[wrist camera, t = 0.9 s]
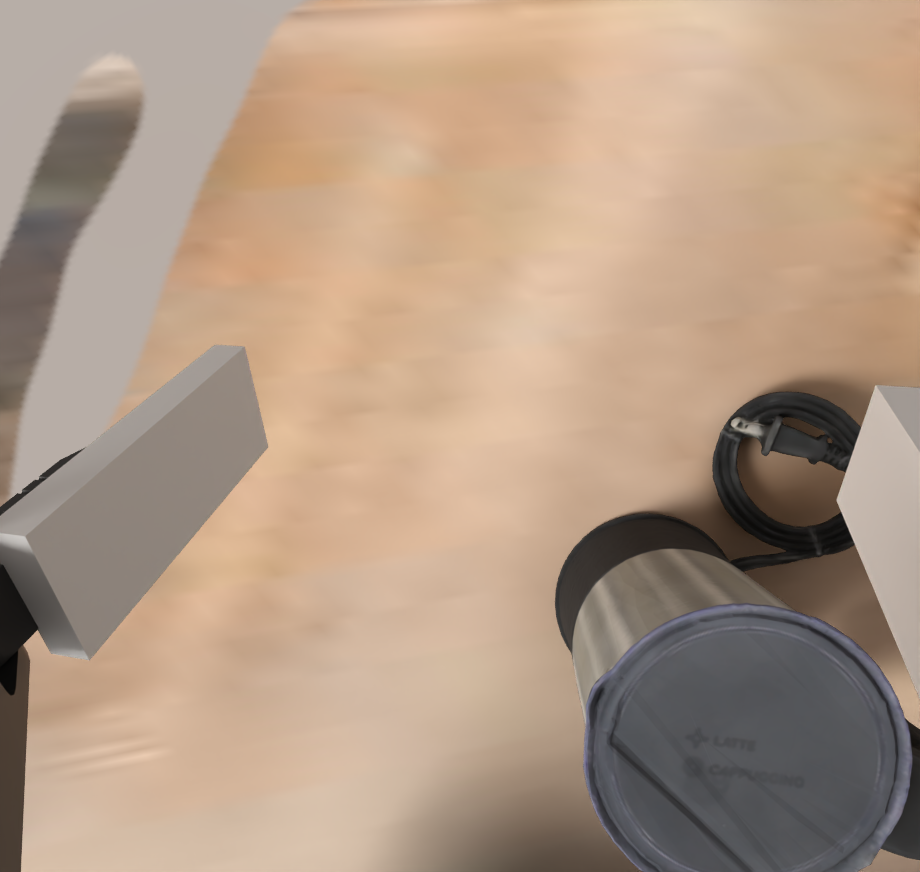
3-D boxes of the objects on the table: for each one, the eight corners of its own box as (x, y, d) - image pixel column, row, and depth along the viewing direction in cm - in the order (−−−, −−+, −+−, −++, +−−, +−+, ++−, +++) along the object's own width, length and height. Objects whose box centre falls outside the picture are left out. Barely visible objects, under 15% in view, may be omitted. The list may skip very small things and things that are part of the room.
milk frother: (542, 676, 34) (568, 892, 19) (572, 374, 33) (623, 357, 18) (823, 709, 33) (1077, 961, 18) (863, 399, 32) (1167, 402, 17)
